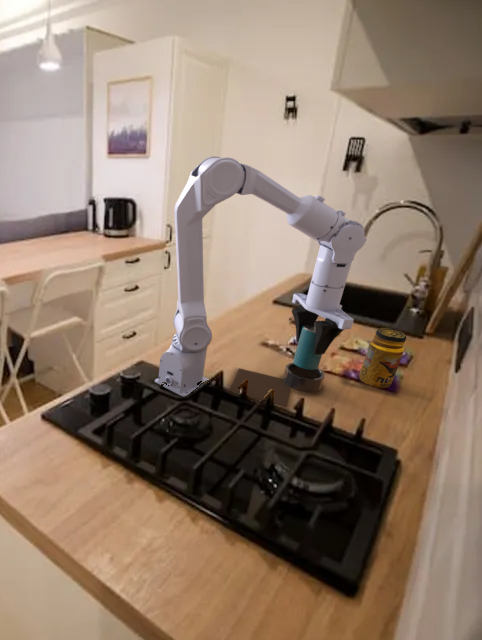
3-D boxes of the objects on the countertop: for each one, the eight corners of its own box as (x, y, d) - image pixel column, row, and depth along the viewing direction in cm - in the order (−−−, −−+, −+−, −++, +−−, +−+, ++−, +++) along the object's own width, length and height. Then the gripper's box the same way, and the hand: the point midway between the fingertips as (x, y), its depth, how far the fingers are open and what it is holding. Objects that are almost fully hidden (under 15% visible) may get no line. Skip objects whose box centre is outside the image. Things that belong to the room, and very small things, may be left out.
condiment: (393, 394, 84) (413, 342, 79) (346, 383, 87) (363, 333, 82) (390, 379, 89) (409, 329, 84) (346, 369, 93) (362, 321, 88)
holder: (311, 398, 82) (315, 383, 80) (276, 383, 87) (279, 369, 85) (326, 386, 86) (330, 371, 85) (291, 372, 91) (295, 359, 90)
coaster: (285, 409, 79) (286, 406, 78) (227, 393, 83) (228, 391, 83) (291, 383, 87) (291, 380, 87) (238, 370, 92) (239, 368, 92)
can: (312, 372, 81) (323, 334, 78) (288, 363, 85) (298, 326, 81) (322, 365, 84) (333, 329, 81) (299, 356, 88) (309, 321, 84)
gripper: (376, 295, 71) (353, 362, 77) (319, 272, 84) (304, 332, 90) (341, 297, 70) (321, 365, 76) (289, 273, 83) (275, 334, 89)
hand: (310, 347), depth 83 cm, fingers closed on can, 5 cm apart
